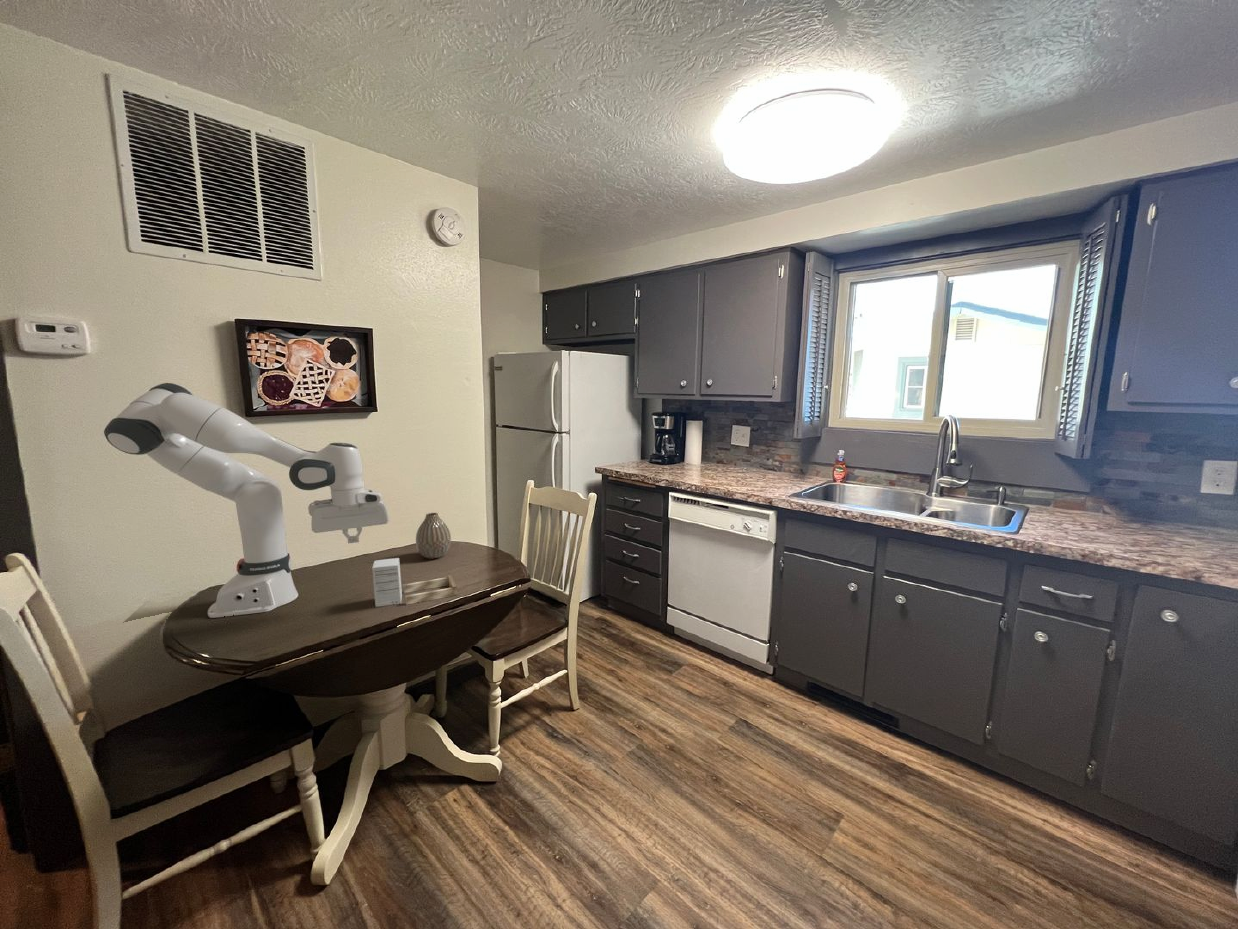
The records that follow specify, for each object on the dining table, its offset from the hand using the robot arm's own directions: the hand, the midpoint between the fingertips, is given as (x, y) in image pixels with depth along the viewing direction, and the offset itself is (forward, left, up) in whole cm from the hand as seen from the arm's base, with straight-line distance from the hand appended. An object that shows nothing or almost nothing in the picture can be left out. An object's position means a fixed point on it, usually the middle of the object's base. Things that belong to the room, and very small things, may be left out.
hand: (353, 542), depth 146 cm
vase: (+26, +39, -20) cm, 51 cm away
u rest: (+20, 0, -20) cm, 28 cm away
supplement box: (+8, 0, -21) cm, 22 cm away
